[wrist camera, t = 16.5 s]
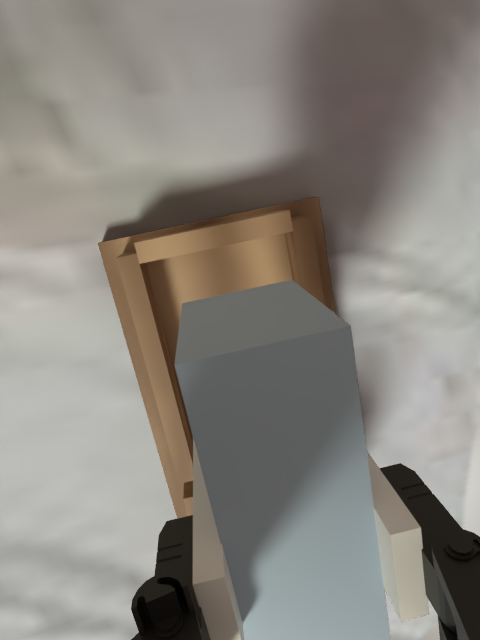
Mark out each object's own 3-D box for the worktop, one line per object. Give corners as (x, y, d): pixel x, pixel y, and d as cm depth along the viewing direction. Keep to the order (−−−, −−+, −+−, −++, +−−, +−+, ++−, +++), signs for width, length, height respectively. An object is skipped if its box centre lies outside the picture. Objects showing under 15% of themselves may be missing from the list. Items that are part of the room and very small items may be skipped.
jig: (204, 599, 35) (205, 643, 32) (101, 241, 27) (88, 246, 24) (366, 558, 36) (385, 597, 33) (313, 197, 28) (331, 195, 24)
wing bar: (246, 567, 18) (269, 732, 13) (182, 303, 15) (174, 364, 9) (335, 545, 19) (398, 698, 13) (291, 279, 15) (350, 325, 10)
